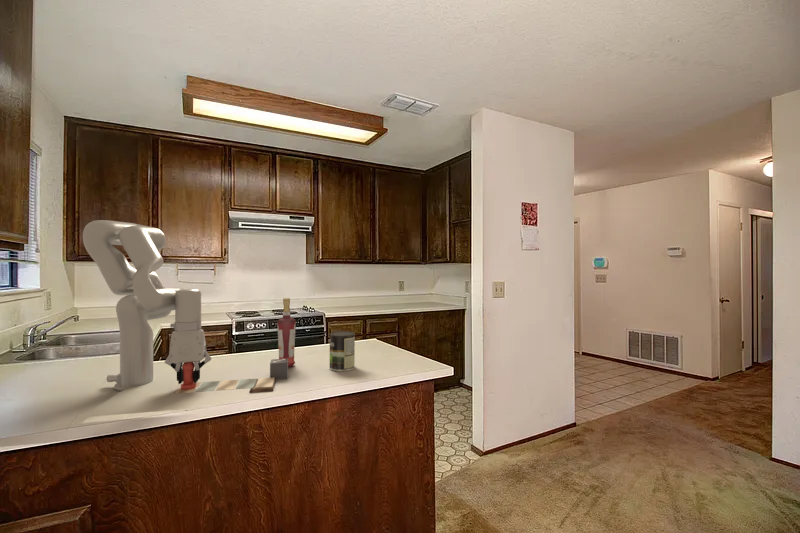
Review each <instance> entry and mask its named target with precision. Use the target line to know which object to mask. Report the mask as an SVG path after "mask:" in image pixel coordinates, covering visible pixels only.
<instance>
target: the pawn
mask: <svg viewBox="0 0 800 533" xmlns="http://www.w3.org/2000/svg"><path fill="white" fill-rule="evenodd" d="M182 369H183V382H182V383H181V384H180V387H181V389H182V390H188V389H193V388H195V387H196V383H194V382H193V371H194V370H195V365H194V362H185V363H183V364H182Z"/></svg>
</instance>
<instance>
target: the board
mask: <svg viewBox="0 0 800 533" xmlns="http://www.w3.org/2000/svg"><path fill="white" fill-rule="evenodd" d="M275 384H276V378H275V377H271V378H270V377H260V378H259V377H258V378H245V379H244V378H243V379H242V378H241V379H240V380H239V379H229V380H227V379H226V380H222V381H221V380H215V381H214V380H212V381H203V382H202V381H199V382H198V381H197V382H196V387H195V388H193V389H188V390H182V389H181V386H180V387H179V388H178V389H176V391H175V392H174V393H173V394H174V395H175V394H190V393H194V392H195V393H202V392H214V391H229V390H230V391H231V390H234V389H235V390H242V389H243V390H245V389H249V392H248V393H260V392H262V393H264V392H273V391H274V388H275Z"/></svg>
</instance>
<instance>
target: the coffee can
mask: <svg viewBox="0 0 800 533" xmlns="http://www.w3.org/2000/svg"><path fill="white" fill-rule="evenodd" d="M328 336H329V370H330V371H333V372H349V371H352V369H353V370H354V369H355V361H356V360H355V356H356V355H355V345H356V343H355V339H356V337H355V336H356V333H355V332H354V331H349V330H347V331H345V330H342V331H341V330H340V331H339V330H338V331H333V332H331V333H329V335H328ZM348 370H349V371H348Z"/></svg>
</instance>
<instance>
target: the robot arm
mask: <svg viewBox="0 0 800 533" xmlns="http://www.w3.org/2000/svg"><path fill="white" fill-rule="evenodd" d="M83 228H84V229H83V231H82V241H83V242H82V243H83V245H84V247H85V249H86V252H87V253H88V254H89V256H90V257H91V259H92V260H93V261H94V263H95V264H96V266H97V267H98V269H99V271H100V273H101V275H102V277H103V279H104V280H105V282H106V285H107V286H108V288H109V290H110V291H111V292H112V294H114V295H117V296H123V297H121V298H120V299H119V300H118V301H117V303H116V305H115V312H116V317H117V320H118V321H117V322H118V328H119V373H118V374H108V375H107V376H106V382H107V383H112V382H115V384H114V385H113V386H114V390H115V391H119V392H122V391H124V390H125V389H126V388H128V387H137V386H144V385H147V384H149V383H152V382H153V381H154V332H153V329H152V327H151V324H149V322H148V321H151V320H158V319H162V318H165V317H168V316H169V315H170V314H171V312H172V311H175V312H174V314H175V315H174V317H175V318H174V319H175V320H174V322H173V323H170V326H169V327H170V328H171V329H174V331H172V332H171V337H170V342H169V352H168V356H167V357H166V359H165V361H164V364H165V365H168V366H170V367H171V368H172V369H173V370H174V371H175V372H176V381H177V382H178V383H177V384H178V385H181V384H183V369H182V365H183V363H185V362H193V363H194V365H195V367H194V371H193V382H194V383H196V382H198V381H199V380H200V379H201V368H202V367H203V366H204V365H205V364H208V363H209V362H210V361H211V360H212V357H211V355H210V354H209V353H208V351H207V344H206V343H207V342H206V336H205V331H204V329H202V292H201V290H200V289H198V288H184V287H183V288H182V287H166V286H165V285H164V283H163V282H162V280H161V277H160V276H159V275H158V274H157V273H156V271H157V270H159V269H160V268H161V267H162V266H163V264H164V258H163V257H162V255H161V253H160V252H159V251H160V250H162V249H164V247H165V246H166V244H167V239H166V235H165V233H164V232H163V231H162V230H161V229H159V228H157V227H153V226H148V225H143V224H140V223H139V224H138V223H133V222H126V221H125V222H124V221H117V220H107V219H105V220H104V219H100V220H99V219H97V220H92V221H91V222H89V223H87V224H86V225H85V226H84V227H83ZM113 245H115V246H122V247H123V248H124V251H125V252H126V254H127V255H128V257H129V259H130V260H131V263H132V265H133V267H132V265H131V264H130V263H129V261H128V259H127V257H126V256H125V255H124V253H123V252H121V251H120V250H119V249H117V247H115V246H113Z"/></svg>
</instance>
